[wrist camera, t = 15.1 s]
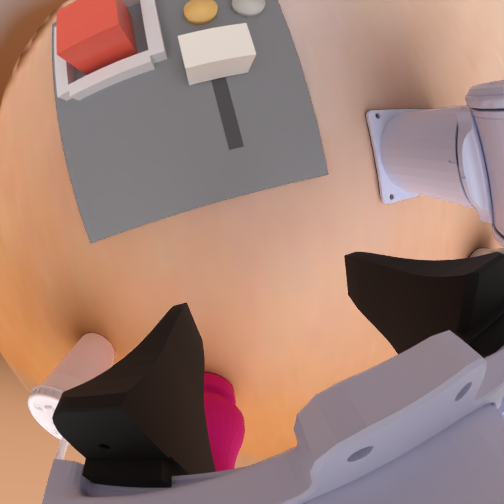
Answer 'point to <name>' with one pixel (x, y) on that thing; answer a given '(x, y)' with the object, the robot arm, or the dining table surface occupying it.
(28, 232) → the dining table surface
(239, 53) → the block
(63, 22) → the cap
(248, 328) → the dining table surface
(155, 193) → the panel
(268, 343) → the dining table surface
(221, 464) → the pepper mill
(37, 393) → the smoothie
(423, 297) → the robot arm
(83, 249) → the dining table surface
